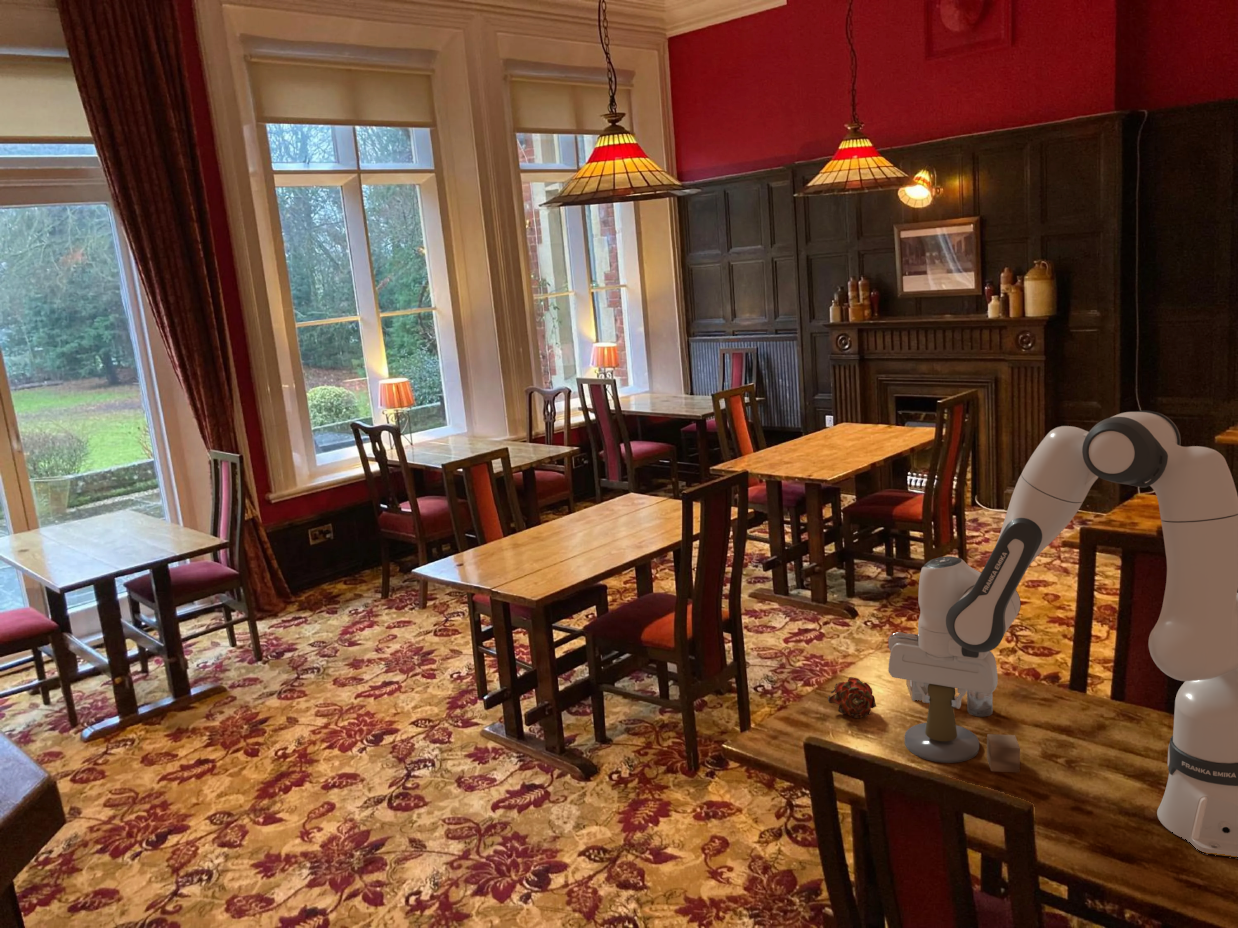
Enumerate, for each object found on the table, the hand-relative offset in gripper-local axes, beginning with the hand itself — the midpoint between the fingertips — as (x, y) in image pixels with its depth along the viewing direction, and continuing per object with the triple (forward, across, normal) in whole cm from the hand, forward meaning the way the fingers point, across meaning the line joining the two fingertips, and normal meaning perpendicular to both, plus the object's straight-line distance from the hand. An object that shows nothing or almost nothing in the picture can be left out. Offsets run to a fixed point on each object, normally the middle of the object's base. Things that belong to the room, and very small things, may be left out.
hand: (941, 704), depth 190 cm
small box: (+9, -9, +21) cm, 24 cm away
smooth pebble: (+9, 0, 0) cm, 9 cm away
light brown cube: (+9, +12, -3) cm, 15 cm away
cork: (+6, 0, 0) cm, 7 cm away
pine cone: (+9, -20, +6) cm, 23 cm away
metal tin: (+9, +4, +17) cm, 19 cm away
